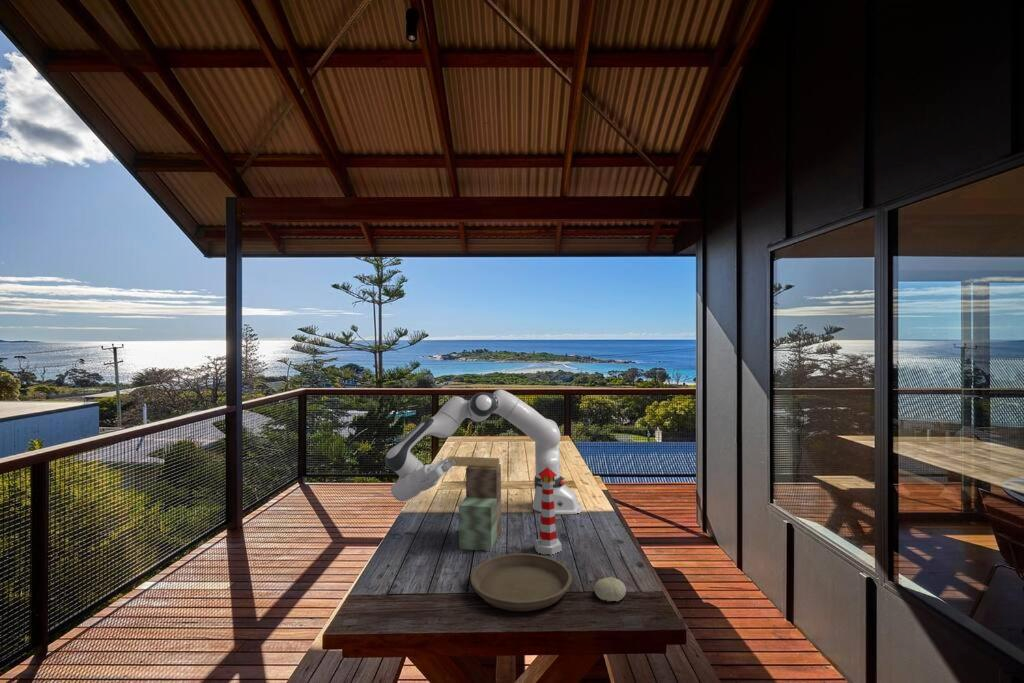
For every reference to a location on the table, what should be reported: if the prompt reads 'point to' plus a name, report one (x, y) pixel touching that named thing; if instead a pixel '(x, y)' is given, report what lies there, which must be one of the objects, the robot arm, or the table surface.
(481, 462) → the brass bar
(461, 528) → the two-tone block tower
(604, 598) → the sea urchin shell
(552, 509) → the decorative lighthouse
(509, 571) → the plant saucer
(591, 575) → the table surface
